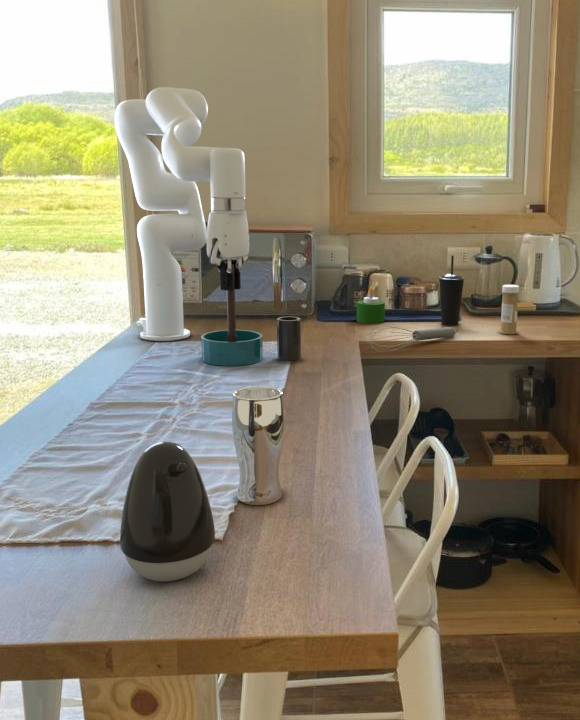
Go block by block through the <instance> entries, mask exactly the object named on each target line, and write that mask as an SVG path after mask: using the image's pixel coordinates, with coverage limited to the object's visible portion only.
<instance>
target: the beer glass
mask: <svg viewBox="0 0 580 720" xmlns="http://www.w3.org/2000/svg"><path fill="white" fill-rule="evenodd" d="M283 399H284V397H283V390H281V389H280V388H277V387H274V386H265V385H253V386H245V387H241V388H237V389H235V390H234V391H233V393H232V407H231V408H232V409H231V410H232V411H231V413H232V414H231V428H232V438H233V445H234V448H235V453H236V459H237V463H238V469H239V481H238V488H237V494H236V497H237V500H238V501H239V502H241V503H242V504H244V505H249V506H268V505H270V504H274V503H276V502H278V501H279V500H280V499H281V498H282V496H283V493H282V487H281V482H280V474H279V472H280V471H279V469H280V460H281V454H282V449H283V442H284V436H285V434H284V433H285V411H284V410H285V409H284V400H283Z"/></svg>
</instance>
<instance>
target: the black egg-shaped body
mask: <svg viewBox="0 0 580 720" xmlns="http://www.w3.org/2000/svg"><path fill="white" fill-rule="evenodd" d="M123 502H124V504H123V508H122V514H121V520H120V521H121V522H120V531H119V545H120V550H121V552H122V553H123V555H124V556H125V559H126V561H127V563H128V565H129V566H130V568H131V569H132V570H133V571H134V572H135V573H136V574H138V576H140V577H142V578H144V579H146V580H149V581H154V582H166V583H167V582H174V581H179V580H181V579H184V578H188V577H189V576H191V575H192V574H194V573H196V572H197V571H198V570H200V568H201V567H203V565H204V564H205V562H206V561H207V559H208V558H209V555H210V553H211V549H212V545H213V544H214V542H215V539H216V530H215V521H214V517H213V512H212V507H211V502H210V499H209V496H208V492H207V490H206V487H205V483H204V481H203V478H202V476H201V473H200V471H199V469H198V467H197V464H196V463H195V461H194V460H193V458H192V456H191V455H190V454H189V452H188V451H187V450H186V448H184V447H183V446H181V445H180V444H178V443H175V442H172V441H159V442H156V443H154V444H151V445H149V446H148V447H147V448H146V449H145V450H144V451H143V452H142V453H141V455H140V456H139V458H138V459H137V461H136V463H135V466H134V467H133V470H132V473H131V476H130V479H129V482H128V486H127V489H126V494H125V498H124V501H123Z"/></svg>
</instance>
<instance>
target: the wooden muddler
mask: <svg viewBox="0 0 580 720" xmlns="http://www.w3.org/2000/svg"><path fill="white" fill-rule="evenodd" d="M231 273H233V278H234V290H233V291H227V290H226V313H227V314H226V315H227V318H226V319H227V330H228V335H227V342H237V335H236V330H237V319H236V315H237V314H236V289H235V274H234V264H231Z"/></svg>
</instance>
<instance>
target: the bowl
mask: <svg viewBox="0 0 580 720" xmlns="http://www.w3.org/2000/svg"><path fill="white" fill-rule="evenodd" d="M227 335H228V329H223V330H214V331H209V332H206V333H203V334H202V335H201V336H200V342H201V343H200V346H201V361H202V362H203V363H205V364H209V365H212V366H213V365H214V366H220V367H221V366H222V367H223V366H224V367H238V366H246V365H247V366H248V365H252V364H256V363H259V362H262V360H263V359H264V344H263V339H264V338H263V333H260V332H258V331H254V330H246V329H236V335H237V342H227Z"/></svg>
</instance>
